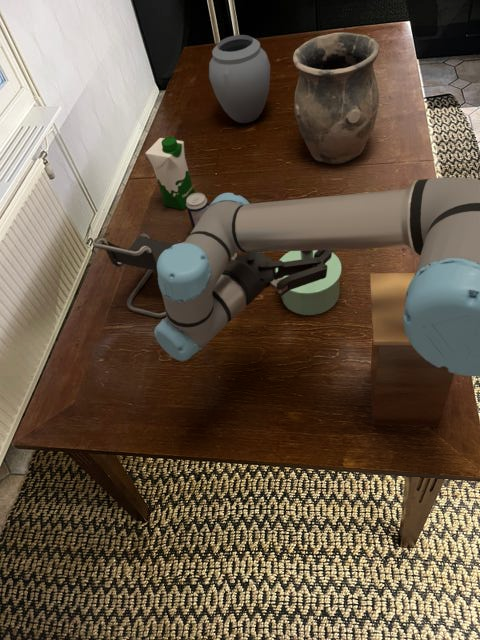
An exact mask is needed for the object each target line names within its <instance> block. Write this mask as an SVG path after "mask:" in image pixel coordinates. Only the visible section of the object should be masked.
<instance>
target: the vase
mask: <svg viewBox="0 0 480 640" xmlns="http://www.w3.org/2000/svg"><path fill="white" fill-rule="evenodd" d="M211 54H212V57H211V59H210V60H209V65H208V79H209V81H210V84H211V86H212V89H213V92H214V95H215V98H216V99H217V101H218V103H219V105H220V106H221V107H222V109H223V111H224V112H225V113H226V115H228V116H229V118H230V119H232V120H233V121H235V122H236V123H239V124H249V123H252V122H254V121H257V119H258V118H259V117H260V115H261V114H262V113H263V110H264V108H265V106H266V103H267V100H268V96H269V92H270V91H269V90H270V84H271V63H270V60H269V57H268V55H267V52H266V51H265V50H264V49H263V48H262V47H261V42H260V41H259V40H257V39H256V38H254V37H252V36H250V35H247V34H236V35H235V34H234V35H231V36H228V37H225V38H224V39H222V40H220V41H219V42H218V43H217V44H216V45H215V46H214V47H213V49H212V50H211Z"/></svg>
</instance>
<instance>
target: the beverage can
mask: <svg viewBox="0 0 480 640" xmlns="http://www.w3.org/2000/svg"><path fill="white" fill-rule="evenodd" d="M208 206H210V204H209V200H208V198H207V197H206V196H205V194H204V193H203V192H195V193H193V194H191V195H189V196H188V197H187V200H186V207H187V208H186V211H187V214H188V217H189V220H190V224H191V228H192V230H193V229H194V228H195V226H196V225H197V223H198V221H199V220H200V218H201V217H202V215H203V214H204V212H205V210H206V208H207V207H208Z"/></svg>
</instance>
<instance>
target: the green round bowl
mask: <svg viewBox="0 0 480 640" xmlns="http://www.w3.org/2000/svg"><path fill="white" fill-rule="evenodd" d="M340 285H341V283H340V279H339V280H338V281H337V282H336V284H335V285H333V286H332V287H331V288H329V289H328V290H326V291H324V292H321V293H318V294H312V295H301V294H296V293H292V292H290V291H288V292H286V293H285V294H284V295H282V296H280V298H281V301H282V303H283V305H284V306H285V307H286V308H287V309H288V310H289V311H291V312H293V313H295V314H297V315H302V316H316V315H320V314H323V313H325V312H327V311H329V310H330V309H332V308H333V307H334V306H335V305H336V303H338V300H339V298H340V296H341V295H340V294H341V293H340V289H341V288H340Z"/></svg>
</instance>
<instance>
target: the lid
mask: <svg viewBox="0 0 480 640" xmlns="http://www.w3.org/2000/svg"><path fill="white" fill-rule="evenodd" d="M317 251H318V250H311V251H287V253H284V255H283V256H282V257H281V258H280V259H279V260H278V261H282V262H287V261H294V260H301V259H309V258H314V254H315V253H316V252H317ZM325 264H326V265H327V266H328V267H327V275H326V278H324V279H321V280H318V281H315V282H312V283H309V284H306V285H303V286H300V287H298V288H295V289H292V290H289V291H290V292H292V293H296V294H301V295H312V294H318V293H321V292H324V291H326V290H328V289H329V288H331V287H332V286H333V285H335V284H336V282H337V281H338V280H339V281H340V278H341V275H342V270H343V269H342V262H341V260H340V259H339V257H338V256H337V255H336V254H335V253H334V252H332V256H331V259H329V260H328V261H327V262H326V263H325ZM277 271H278V268H275V272H277ZM285 277H287V276H284V277H283V278H285ZM276 280H279V279H276Z"/></svg>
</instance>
